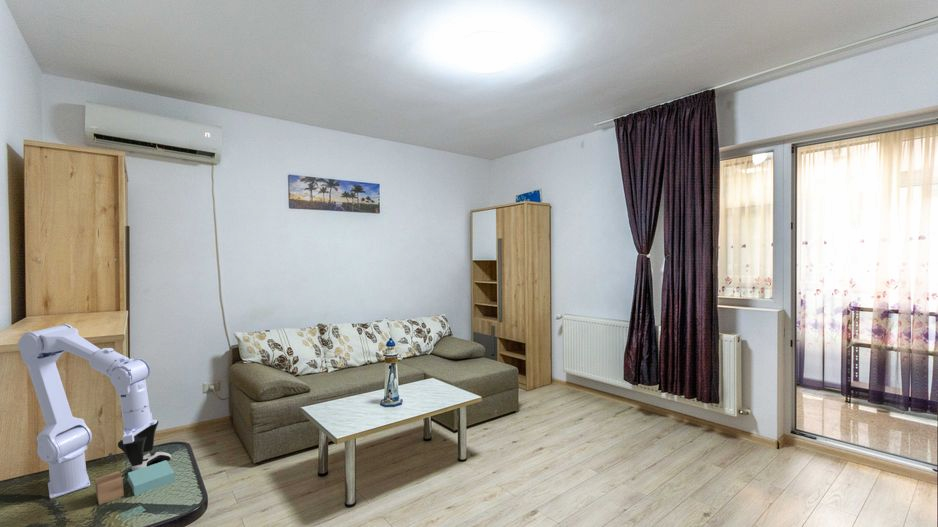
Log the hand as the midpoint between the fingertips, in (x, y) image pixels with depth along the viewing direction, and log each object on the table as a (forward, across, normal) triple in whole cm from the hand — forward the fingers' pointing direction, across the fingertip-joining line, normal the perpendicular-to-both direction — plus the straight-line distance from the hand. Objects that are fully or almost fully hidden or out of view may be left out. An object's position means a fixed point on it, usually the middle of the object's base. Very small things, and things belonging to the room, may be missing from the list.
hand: (142, 457), depth 113 cm
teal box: (+11, +7, +1) cm, 13 cm away
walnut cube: (+10, +3, +9) cm, 14 cm away
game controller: (+10, +16, +4) cm, 20 cm away
